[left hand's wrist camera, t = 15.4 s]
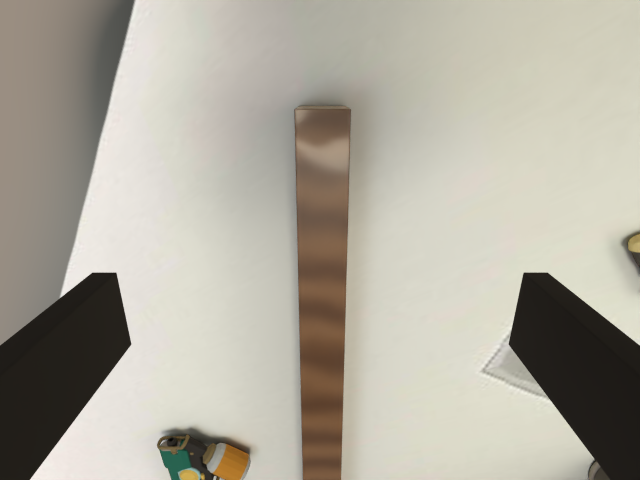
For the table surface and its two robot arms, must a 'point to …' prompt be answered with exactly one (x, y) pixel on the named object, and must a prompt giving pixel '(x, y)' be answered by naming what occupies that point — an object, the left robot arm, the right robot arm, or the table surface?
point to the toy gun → (635, 247)
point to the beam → (322, 280)
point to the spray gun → (202, 459)
